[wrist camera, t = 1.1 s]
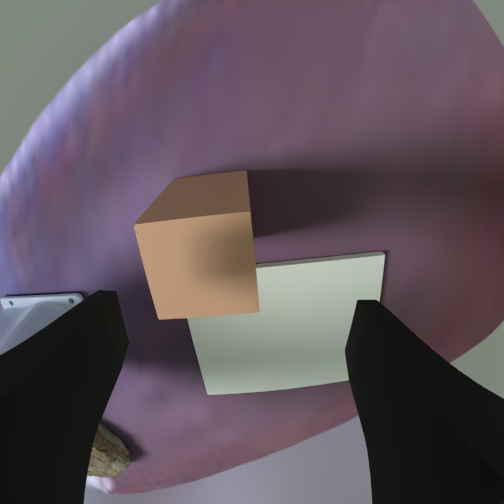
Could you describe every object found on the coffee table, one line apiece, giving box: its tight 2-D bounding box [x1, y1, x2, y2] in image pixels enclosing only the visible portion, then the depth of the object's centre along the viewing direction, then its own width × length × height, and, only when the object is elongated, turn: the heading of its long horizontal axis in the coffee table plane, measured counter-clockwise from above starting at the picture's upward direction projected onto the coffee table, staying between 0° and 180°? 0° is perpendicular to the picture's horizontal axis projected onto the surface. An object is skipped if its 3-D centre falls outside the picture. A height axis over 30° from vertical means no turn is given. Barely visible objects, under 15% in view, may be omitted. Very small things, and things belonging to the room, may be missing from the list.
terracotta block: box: [134, 170, 260, 320], centre depth 16 cm, size 4×4×8 cm
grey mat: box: [187, 251, 385, 395], centre depth 24 cm, size 14×12×1 cm
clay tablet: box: [87, 423, 130, 477], centre depth 30 cm, size 14×5×20 cm
